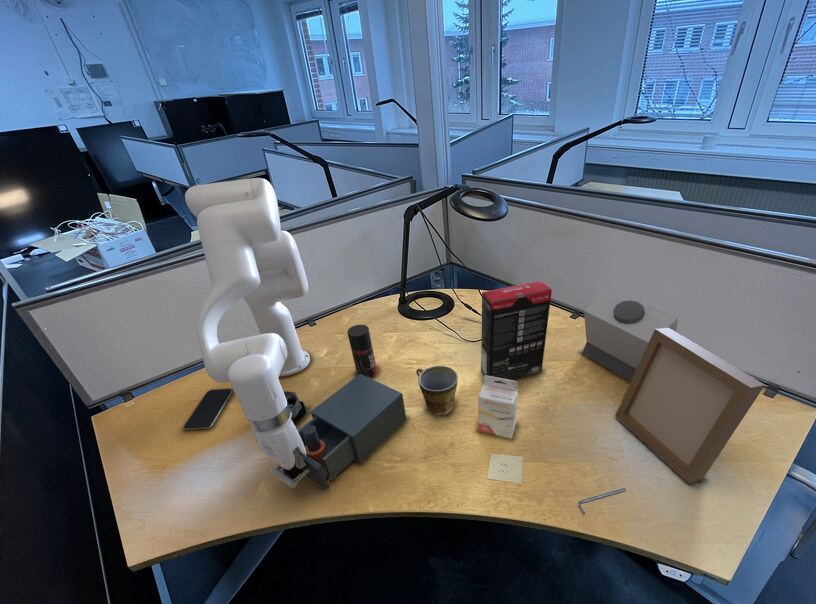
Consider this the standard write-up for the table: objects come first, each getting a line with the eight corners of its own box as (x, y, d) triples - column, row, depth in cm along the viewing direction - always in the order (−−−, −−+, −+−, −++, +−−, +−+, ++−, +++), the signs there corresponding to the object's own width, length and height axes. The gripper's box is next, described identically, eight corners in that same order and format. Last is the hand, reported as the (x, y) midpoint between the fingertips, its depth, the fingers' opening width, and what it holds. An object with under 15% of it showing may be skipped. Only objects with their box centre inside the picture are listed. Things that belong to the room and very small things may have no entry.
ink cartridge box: (477, 432, 101) (476, 387, 92) (482, 418, 105) (482, 373, 96) (512, 439, 98) (514, 393, 90) (516, 425, 102) (518, 379, 94)
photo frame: (687, 486, 85) (728, 397, 71) (614, 418, 102) (634, 335, 88) (738, 461, 90) (785, 372, 75) (659, 400, 106) (686, 318, 92)
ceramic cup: (467, 404, 109) (465, 375, 103) (441, 426, 103) (438, 396, 97) (432, 384, 117) (429, 356, 111) (406, 403, 111) (402, 374, 105)
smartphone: (182, 428, 107) (208, 389, 119) (183, 430, 107) (209, 391, 119) (209, 427, 107) (233, 388, 119) (211, 428, 107) (234, 390, 119)
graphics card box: (533, 359, 123) (539, 277, 108) (544, 373, 118) (553, 288, 102) (480, 373, 119) (479, 289, 104) (489, 388, 114) (490, 302, 98)
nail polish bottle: (305, 462, 94) (293, 432, 88) (320, 449, 97) (310, 419, 91) (318, 471, 92) (306, 440, 86) (333, 457, 94) (323, 427, 89)
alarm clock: (671, 369, 116) (692, 307, 104) (636, 392, 109) (654, 328, 98) (610, 337, 130) (623, 279, 119) (576, 356, 123) (586, 296, 112)
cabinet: (360, 463, 95) (353, 436, 90) (319, 437, 102) (310, 411, 97) (406, 419, 106) (402, 393, 101) (366, 399, 113) (360, 373, 108)
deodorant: (373, 379, 120) (364, 337, 111) (354, 377, 121) (343, 335, 112) (379, 366, 125) (371, 325, 116) (361, 365, 126) (352, 323, 117)
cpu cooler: (306, 394, 107) (280, 421, 100) (312, 410, 111) (287, 437, 103) (275, 386, 111) (248, 412, 103) (281, 402, 114) (255, 427, 106)
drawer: (307, 508, 85) (297, 486, 81) (268, 478, 92) (258, 457, 88) (374, 443, 99) (369, 422, 94) (337, 422, 105) (330, 401, 101)
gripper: (229, 411, 80) (259, 471, 90) (276, 443, 72) (303, 504, 83) (263, 389, 85) (288, 449, 95) (310, 417, 77) (331, 478, 88)
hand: (295, 474), depth 89 cm, fingers closed
